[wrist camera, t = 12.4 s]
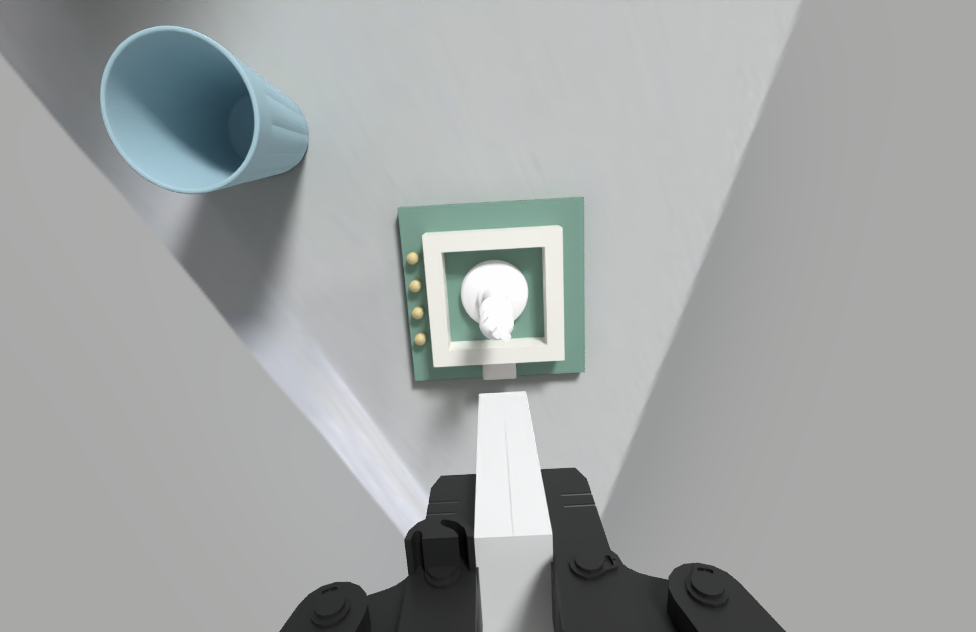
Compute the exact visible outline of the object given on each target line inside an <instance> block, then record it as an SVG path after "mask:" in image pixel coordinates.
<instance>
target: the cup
mask: <svg viewBox="0 0 976 632" xmlns="http://www.w3.org/2000/svg"><path fill="white" fill-rule="evenodd" d="M100 105H101V113H102V117H103V121H104V124H105V127H106V130H107V133H108V135H109V137H110V139H111V141H112V143H113V145H114V146H115V148H116V149H117V151H118V152H119V154H120V155H121V156H122V158H123V159H124V160H125V161H126V162H127V164H128V165H129V166H130V167H131V168H132V169H134V170H135V171H136V172H137V173H138V174H139V175H141V176H142V177H143V178H145V179H146V180H148V181H150V182H151V183H153V184H155V185H157V186H159V187H162V188H164V189H167V190H170V191H173V192H178V193H184V194H202V193H208V192H213V191H216V190H220V189H224V188H228V187H231V186H234V185H238V184H242V183H246V182H250V181H253V180H257V179H261V178H265V177H269V176H273V175H277V174H281V173H284V172H287V171H289V170H291V169H292V168H293V167H294V166H296V165H297V164H298V163H299V162H300V161H301V160H302V158H303V156H304V154H305V152H306V149H307V146H308V127H307V124H306V121H305V119H304V117H303V114H302V112H301V111H300V109H299V108H298V107H297V106H296V105H295V104H294V103H293V102H292V101H291V100H290V99H289V98H288V97H287V96H286V95H284V94H283V93H282V92H280V91H279V90H278V89H277V88H275V87H274V86H273V85H271V84H270V83H269V82H267V81H266V80H265V79H264V78H262V77H261V76H260V75H258V74H257V73H256V72H254V71H253V70H252V69H250V68H249V67H248V66H247V65H245V64H244V63H243V62H241V61H240V60H239V59H238V58H237V57H235V56H234V55H233V54H231V53H230V52H229V51H227V50H226V49H225V48H224V47H222V46H221V45H220V44H218V43H217V42H215V41H214V40H212V39H211V38H209V37H207V36H205V35H203V34H201V33H199V32H197V31H194V30H191V29H187V28H183V27H178V26H156V27H151V28H147V29H144V30H141V31H139V32H137V33H135V34H133V35H131V36H130V37H128V38H127V39H126V40H124V41H123V42H122V43H121V44H120V45H119V46H118V47H117V48H116V50H115V51H114V52H113V54H112V55H111V57H110V59H109V60H108V62H107V64H106V67H105V70H104V72H103V76H102V81H101V88H100Z"/></svg>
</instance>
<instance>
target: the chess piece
mask: <svg viewBox="0 0 976 632" xmlns="http://www.w3.org/2000/svg"><path fill="white" fill-rule="evenodd" d="M461 300H462V304H463V306H464V308H465V310H466V312H467V313H468V315H469V316H470V317H471V318H472V319H473V320H475V321H476V322H478V323H479V327H480V330H481V332H482V333H483V335H484V336H486V337H487V338H489V339H491V340H503V341H504V342H505V343H507V342H508V341H509V340H510V338H511V335H510V333H511V332H512V330H513V327H514V320H516V319H517V318H518V317H519V316H520V315H521V313H522V312H523V310H524V309H525V306H526V303H527V300H528V286H527V282H526V280H525V278H524V276H523V274H522V273H521V272H520V271H519V269H517V268H516V267H515V266H514V265H512V264H510V263H508V262H505V261H502V260H488V261H484V262H481V263H479V264H477V265H476V266H474V267H473V268H472V269H471V270H470V271H469V272H468V273H467V274H466V276H465V278H464V280H463V282H462V286H461Z"/></svg>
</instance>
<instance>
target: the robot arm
mask: <svg viewBox="0 0 976 632" xmlns="http://www.w3.org/2000/svg"><path fill="white" fill-rule="evenodd" d="M404 541H405V549H406V558H407V566H408V574H409V576H408V577H407V578H406V579H405V580H403V581H402V582H400V583H399V584H397V585H396V586H393V587H391V588H389V589H386V590H383V591H380V592H377V593H374V594H371V595H368V596H367V595H366V593H365V591H364V590H363V589H362V588H361V587H360V586H358V585H356V584H353V583H351V582H334V583H331V584H328V585H325V586H322V587H320V588H318V589H317V590H315V591H313V592H312V593H310V594H309V595H308V596H307V597H306V598H305V599H304V600H303V601H302V602H301V603H300V604H299V605H298V607H297V608H296V609H295V611H294V612H293V613H292V615H291V616H290V618H289V619H288V620H287V622H286V623H285V625H284V626H283V627H282V629H281V630H280V632H786V631H785V630H784V629H783V628H782V627H781V626H780V625H779V624H778V623H777V622H776V621H775V620H774V619H773V618H772V617H771V615H770V614H768V612H767V611H766V610H765V609H764V608H763V607H762V606H761V605H760V604H759V603H758V602H757V601H756V600H755V599H754V598H753V596H752V595H751V594H750V593H749V592H748V591H747V590H746V589H745V588H744V587H743V586H742V585H741V584H740V583H739V582H738V581H737V580H736V579H734V578H733V577H732V576H731V575H729V574H728V573H727V572H725V571H723V570H721V569H719V568H716V567H714V566H711V565H706V564H701V563H689V564H683V565H681V566H679V567H677V568H675V569H674V570H673V572H672V573H671V574H670V576H669V580H667V579H662V578H657V577H652V576H648V575H644V574H641V573H638V572H636V571H633V570H631V569H629V568H627V567H626V566H625V565H623V563H622V562H621V560H620V559H619V557H618V555H617V554H615V553H614V552H613V551H611V549H610V547H609V544H608V542H607V538H606V535H605V532H604V529H603V526H602V523H601V520H600V517H599V514H598V511H597V508H596V506H595V502H594V499H593V496H592V495H591V490H590V487H589V484H588V481H587V479H586V478H585V477H584V476H583V475H582V474H581V473H580V472H579V471H578V470H577V469H576V468H558V469H540V464H539V459H538V453H537V448H536V443H535V437H534V432H533V427H532V421H531V416H530V410H529V405H528V400H527V394H526V391H522V392H503V393H484V394H479V410H478V439H477V469H476V474H467V475H447V476H441V477H440V478H439V479H438V480H437V482H436V483H435V484H434V485H433V486H432V488H431V492H430V497H429V505H428V509H427V516H426V519H425V520H423V521H421V522H418V523H417V524H416V525H415V526H414V527H412V528H411V529H410V530H409V531H408V533H407V535H406V538H405V540H404Z"/></svg>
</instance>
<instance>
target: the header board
mask: <svg viewBox="0 0 976 632" xmlns="http://www.w3.org/2000/svg"><path fill="white" fill-rule="evenodd" d="M398 218H399V228H400V237H401V247H402V257H403V267H404V277H405V287H406V297H407V307H408V316H409V326H410V336H411V346H412V356H413V366H414V376H415V381H425V380H444V379H463V378H482V377H483V380H497V379H517V378H516V376H520V375H539V374H558V373H577V372H585V332H584V197H572V198H555V199H537V200H520V201H502V202H484V203H467V204H449V205H432V206H414V207H399V208H398ZM488 260H502V261H505V262H508V263H510V264H512V265H514V266H515V267H516V268H517V269H519V271H520V272H521V273H522V274H523V276H524V278H525V280H526V282H527V286H528V300H527V303H526V306H525V309H524V310H523V312H522V313H521V315H520V316H519V317H518V318H517V319H516V320H514V327H513V330H512V332H511V333H510V335H511V338H510V340H509V341H508V342H507V343H505V342H504V341H503V340H491V339H489V338H487V337H486V336H484V335H483V333H482V332H481V330H480V327H479V323H478V322H476V321H475V320H473V319H472V318H471V317H470V316H469V315H468V313H467V312H466V310H465V308H464V306H463V304H462V300H461V286H462V282H463V280H464V278H465V276H466V274H467V273H468V272H469V271H470V270H471V269H472V268H473V267H474V266H476V265H477V264H479V263H481V262H484V261H488Z"/></svg>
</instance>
